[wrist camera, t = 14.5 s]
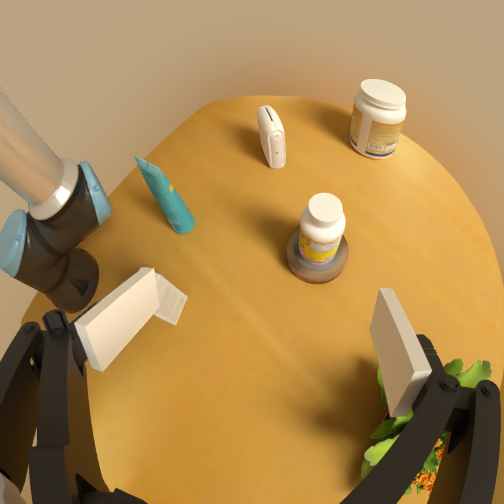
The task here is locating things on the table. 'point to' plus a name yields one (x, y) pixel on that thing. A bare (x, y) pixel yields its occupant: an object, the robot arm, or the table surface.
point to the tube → (167, 198)
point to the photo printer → (271, 137)
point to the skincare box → (169, 300)
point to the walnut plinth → (314, 271)
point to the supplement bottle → (321, 228)
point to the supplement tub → (377, 118)
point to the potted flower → (395, 425)
